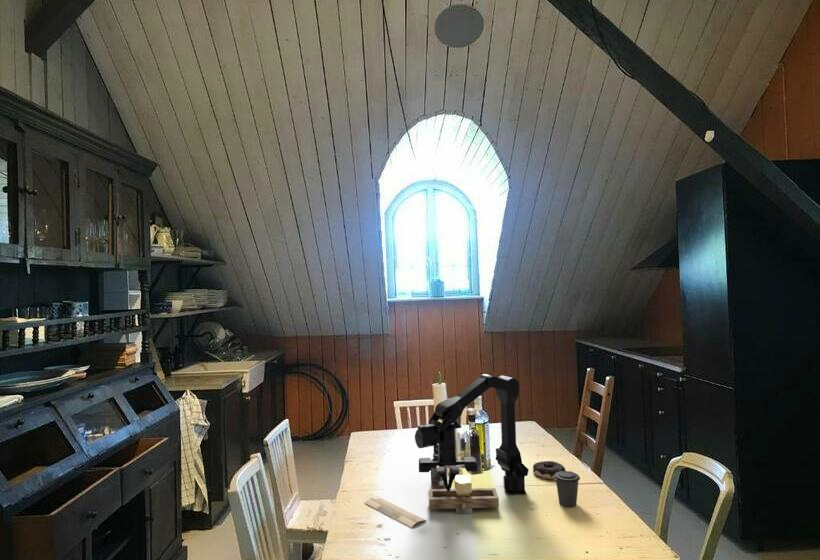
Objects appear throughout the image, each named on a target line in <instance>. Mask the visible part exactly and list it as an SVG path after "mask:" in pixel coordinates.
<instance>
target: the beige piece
mask: <svg viewBox="0 0 820 560" xmlns="http://www.w3.org/2000/svg"><path fill="white" fill-rule="evenodd" d="M364 504H365V505H367V506H369V507H370V508H372V509H374V510H376V511H378V512H380V513H382V514H384V515H385V516H387V517H389V518H391V519H393V520H395V521H397V522H399V523H401V524H403V525H404V526H406V527H408V528H410V529H412V528H413V527H414V526H415V524H417V523H419V522H425V523H426V522H427V520H426V519H425V518H422V517H420V516H419V515H416V514H415V513H412V511H411V512H410V511H408V510H406V509H404V508H403V507H400V506H398V505H396V504H395V503H392V502H390V501H388V500H386V499H384V498H382V497H380V496H374V497H370V498H368V499H367V500H366V501H365V502H364Z"/></svg>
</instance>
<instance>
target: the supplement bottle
mask: <svg viewBox="0 0 820 560" xmlns="http://www.w3.org/2000/svg"><path fill="white" fill-rule="evenodd" d="M432 457H433V458H431V461H439V460H438V454H435V455H434V453H433V454H432ZM445 470H446V476H447V477H448V467H445ZM430 485H431V486H432V487H433V488H437V489H444V488H446V487H445V484H444V481H443V479H442V478H441V476H440V475H438V474H437V471H436V468H431V470H430Z"/></svg>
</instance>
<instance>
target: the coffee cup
mask: <svg viewBox="0 0 820 560" xmlns="http://www.w3.org/2000/svg"><path fill="white" fill-rule="evenodd" d="M554 477H555V478H556V479H555V482H556V489H557V496H558V497H557V498H558V504H559V505H560V506H561V507H563V508H567V509H569V508H570V509H573V508H575V507H577V503H578V491H579V481H580V479H581V477H580V475H579V474H578V473H575V472H573V471H571V470H569V471H568V470H566V471H560V472H557V473H555V475H554Z"/></svg>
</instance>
